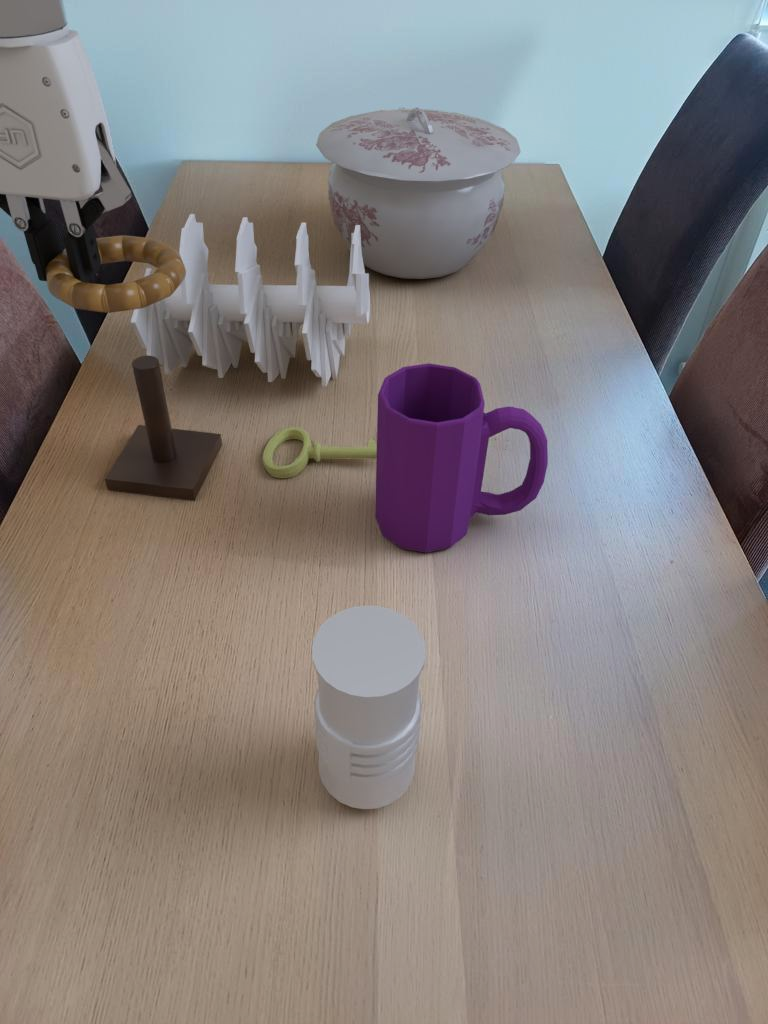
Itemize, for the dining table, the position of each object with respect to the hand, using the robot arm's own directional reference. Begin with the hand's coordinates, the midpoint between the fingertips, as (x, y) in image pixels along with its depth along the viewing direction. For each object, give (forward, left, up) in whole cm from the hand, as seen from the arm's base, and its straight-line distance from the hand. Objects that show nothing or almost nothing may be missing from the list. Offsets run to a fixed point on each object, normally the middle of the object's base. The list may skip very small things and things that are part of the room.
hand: (69, 273), depth 64 cm
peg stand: (+3, +4, -23) cm, 24 cm away
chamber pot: (+22, +57, -23) cm, 66 cm away
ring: (+4, 0, +1) cm, 4 cm away
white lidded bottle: (+29, -27, -23) cm, 46 cm away
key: (+18, +8, -23) cm, 30 cm away
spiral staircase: (+8, +24, -23) cm, 34 cm away
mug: (+33, +1, -23) cm, 40 cm away
